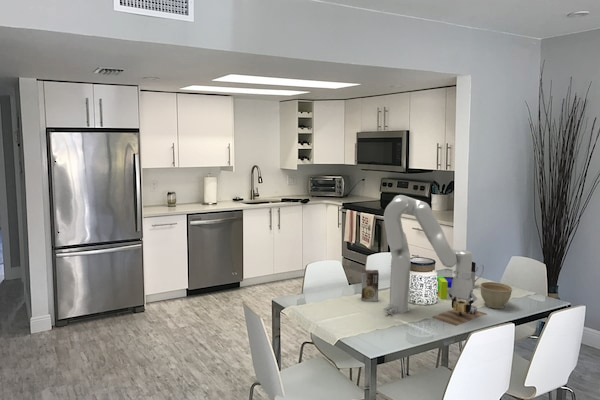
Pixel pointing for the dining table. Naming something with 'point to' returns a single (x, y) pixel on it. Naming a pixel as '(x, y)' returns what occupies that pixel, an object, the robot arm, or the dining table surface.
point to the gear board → (457, 317)
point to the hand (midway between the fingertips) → (460, 309)
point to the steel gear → (473, 310)
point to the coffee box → (370, 285)
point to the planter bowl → (495, 294)
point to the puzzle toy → (444, 287)
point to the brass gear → (460, 306)
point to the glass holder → (474, 273)
